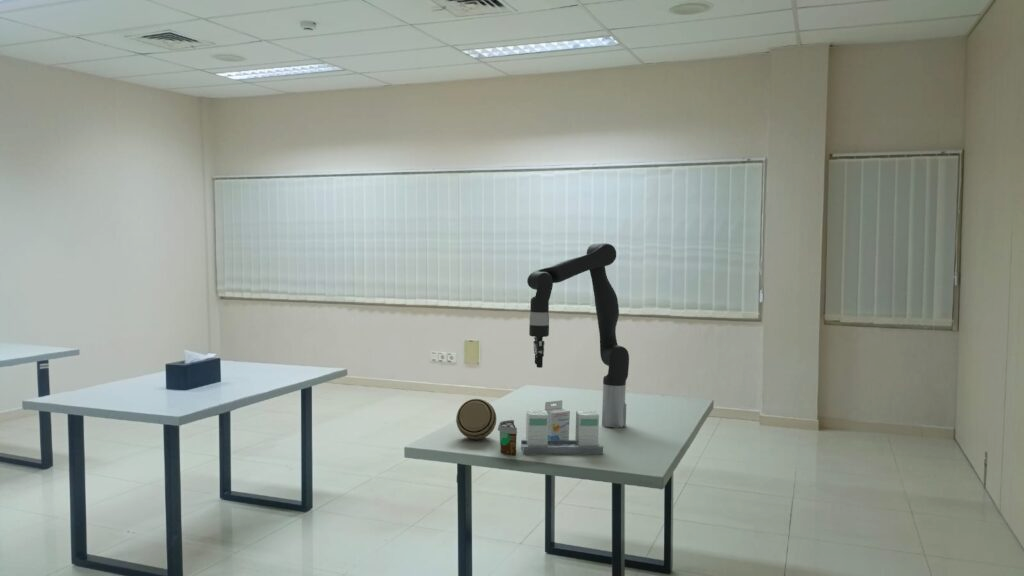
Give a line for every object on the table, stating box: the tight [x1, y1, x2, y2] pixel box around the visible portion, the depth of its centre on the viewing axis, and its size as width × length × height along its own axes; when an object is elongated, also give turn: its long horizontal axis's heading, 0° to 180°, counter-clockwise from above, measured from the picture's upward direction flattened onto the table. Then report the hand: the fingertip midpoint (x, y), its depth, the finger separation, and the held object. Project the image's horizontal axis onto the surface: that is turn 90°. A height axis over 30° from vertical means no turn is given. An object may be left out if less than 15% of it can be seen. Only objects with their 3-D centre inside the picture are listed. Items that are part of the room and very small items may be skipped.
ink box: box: [544, 400, 571, 440], centre depth 275 cm, size 8×5×15 cm, turn 123°
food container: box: [497, 419, 518, 457], centre depth 259 cm, size 12×6×10 cm, turn 5°
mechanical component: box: [455, 398, 497, 440], centre depth 276 cm, size 15×15×15 cm
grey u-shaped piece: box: [520, 410, 604, 455], centre depth 262 cm, size 28×10×14 cm, turn 94°
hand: (538, 365), depth 283 cm, fingers open, 8 cm apart
